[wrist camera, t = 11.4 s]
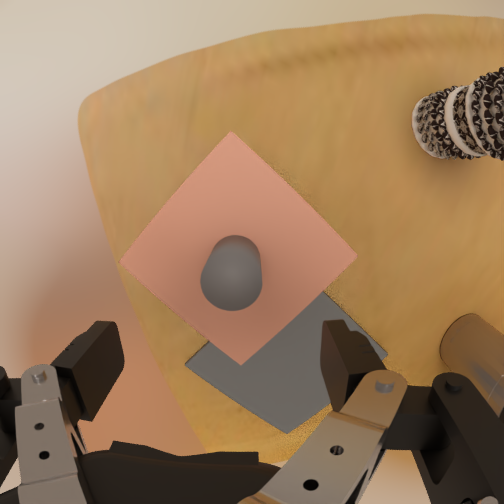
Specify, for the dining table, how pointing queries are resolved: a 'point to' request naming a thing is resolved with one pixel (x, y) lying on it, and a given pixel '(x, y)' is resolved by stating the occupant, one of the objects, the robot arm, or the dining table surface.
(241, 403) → the mat
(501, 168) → the dining table surface
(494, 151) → the decorative candle
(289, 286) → the lid
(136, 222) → the dining table surface
